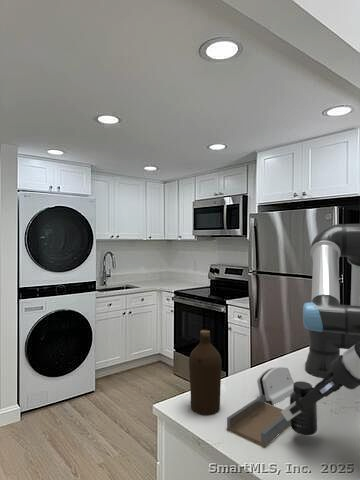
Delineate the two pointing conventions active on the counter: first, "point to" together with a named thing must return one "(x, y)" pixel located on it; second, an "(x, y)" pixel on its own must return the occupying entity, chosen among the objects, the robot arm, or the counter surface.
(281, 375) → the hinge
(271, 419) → the floor track
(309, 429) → the supplement bottle
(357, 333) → the robot arm
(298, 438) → the counter surface
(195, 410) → the olive oil
